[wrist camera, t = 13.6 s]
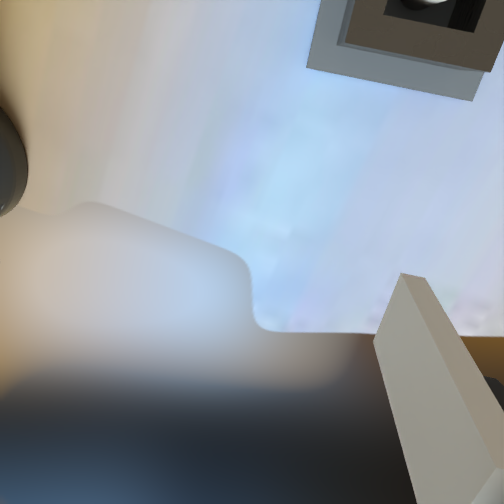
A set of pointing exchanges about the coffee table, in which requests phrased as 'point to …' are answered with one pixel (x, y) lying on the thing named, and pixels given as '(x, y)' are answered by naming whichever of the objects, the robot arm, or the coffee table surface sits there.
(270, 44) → the coffee table surface
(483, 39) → the hollow square block
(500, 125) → the coffee table surface
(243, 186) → the coffee table surface
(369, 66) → the keeper
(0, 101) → the coffee table surface
